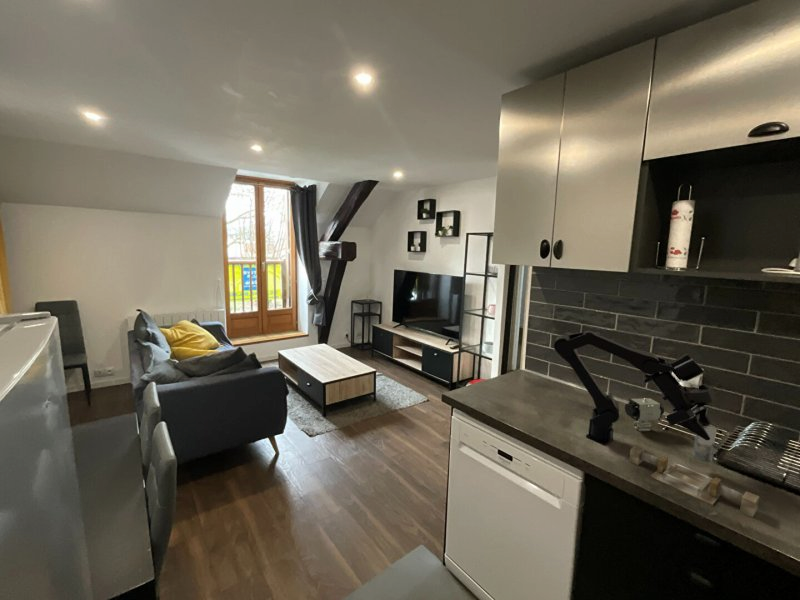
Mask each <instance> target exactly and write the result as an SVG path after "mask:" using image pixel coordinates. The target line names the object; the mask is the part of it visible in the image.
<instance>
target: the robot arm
mask: <svg viewBox="0 0 800 600" xmlns="http://www.w3.org/2000/svg"><path fill="white" fill-rule="evenodd" d="M587 345H590V346H593V347H595V348H598V349H600V350H602V351H605V352H606V353H609V354H611V355H613V356H615V357H618V358H621V359H623V360H624V361H625V362H627V363H629V364H630V365H632V366H633V367H634V368H636V369H637V370H639V371H641V372H642V373H644V377H645V378H644V383H645V384H647V383H649V382H652V383H653V384H654V385H655V386H656V388H657V389H658V390H659V391H660V393H661V394H662V395H663V396H662V399H663V401H666V400H667V401H668V403H670V405H671V406H672V408H673V409H672V412H670V413H669V414H667V415H666V418H665V419H666V421H667V423H668V424H669V425H670V426H671V427H672V426H674V425H677V426H681V427H683V428H685V429H686V430H688V431H690V432H691V433H693V434H695V435H696V434H697V435H698V436H700V437H702V438H703V439H705V440H710V437H709V435H708V434H707V432H706V431H705V429H704V428H703V426H702V425H701V423H707V424H710V425H712V422H711V420H710V418H709V416H708V412H709V409H710V407H709V406H708V405H711V404H712V403H713V402H714V401H717V398H716V396H715V392H716V391H715V390H714V389H713V388H712V387H710V386H709V385H708V384H705V383H704V384H700V385H698V389H697V388H696V389H692V390H691V389H690V388H688V387H687V386H686V385H685V386H682V385H681V383H680V382H679V381H681V380H682V381H683V382H684V381H685V382H688V381H690V380H692V379H695V378H697V377H698V376H701V375H702V374H705V373H706V371H705V370H704V369H703V368H702V367H701V366H700V365H699V364H698V363H697V361H696V360H694V359H693V358H692V357H691V356H690V355H689V354H688V353H685V354H683V355H681V356H680V357H678V358H677V359H674V360H673V361H670V360H669V359H665V358H661V357H658V355H656V354H655V353H653V352H650V351H647V350H643V349H637V348H632V347H629V346H627V345H624V344H623V343H622V344H621V343H619V342H618V341H615V340H612V339H610V338H608V337H605V336H603V335H600V334H598V333H596V332H594V330H591V329H589V330H585V331H581V332H577V333H573V334H569V335H567V334H560V335H558V336H557V337H556V339H555V341H554V344H553V347H554V351H555V352H556V353H557V354H558V355H559V356H560V357H561V358H562V359H563V360H565V362H567V363H568V364H569V365H570V368H571V369H572V370H573V372H574V373H575V374H576V376H577V378H578V379H579V380H580V382H581V384H582V385H583V386H584V387H585V389H586V391H587V392H588V394H589V395H590V397H591V399H592V400H593V403H594V406H595V407H594V408H593V409H592V410H591V411H592V413H591V414H592V415H591V418H590V419H589V425H588V433H587V434H585V438H588V439H589V440H592V441H595V442H597V443H598V444H601V445H603V446H605V445H607V444H609V443H610V442H612V441H613V440H614V431H615V430H614V428H613V425H614V424H613V423H615V422H617V421H618V420H619V418H620V413H619V412H620V407H619V402H618V401H617V400H616V399H615V398H614V396H613V394H612V393H609V394H607V393H606V392H605V391H604V390H602V387H601V386H600V385H599V383H598V381H597V380H596V379H595V377H594V376H593V374H592V373H591V372H590V370H589V368H588V367H587V366H586V364H585V362H584V361H583V359H582V358H581V357H580V355H579V352H578V349H580V348H582V347H585V346H587ZM672 373H673V374H672ZM674 375H675V376H674ZM676 378H677V379H678V380H679V381H678V380H677V379H676ZM705 406H706V407H705Z"/></svg>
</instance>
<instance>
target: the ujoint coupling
mask: <svg viewBox="0 0 800 600" xmlns="http://www.w3.org/2000/svg"><path fill="white" fill-rule="evenodd" d="M701 425H702V426H703V428H704V429H705V431H706V432H707V434H708V435H709V437H710V440H705V439H703V438H702V437H700V436H698V435H697V434H695V435H691V437H690V438H691V439H690V440H691V441H694V442H693V443H694V444H693V450H692V456H693V458H695V459H696V460H698V461H702V462H705V463H711V462H712V461H713V455H714V449H716V450H720V449H721V446H720V445H719V444H717V443H716V435H717V429H718V428H717V427H716V426H714V425H712V424H711V425H710V424H707V423H701Z"/></svg>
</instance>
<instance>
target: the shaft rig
mask: <svg viewBox="0 0 800 600" xmlns="http://www.w3.org/2000/svg"><path fill="white" fill-rule="evenodd" d="M629 450H630V451H629V459H628V460H629V463H631V464H634V465H637V466H639V465H640V464H641V463H642V462H646V463H648V464H651V465H653V466H656V467H657V470H655V472H653V473H652V474H651V475H650V478H653V479H655V480H657V481H659V482H661V483H663V484H665V485H667V486H669V487H672V488H674V489H676V490H678V491H681V492H683V493H685V494H687V495H689V496H691V497H693V498H695V499H698V500H700V501H702V502H704V503H706V504H708V505H710V506H714V504H715V503H716V502H717V500H718V499H719V498H720V497H721V496H724V497H725V498H727V499H730V500H733V501H735V502H737V503H739V504H740V508H739V512H740V513H742V514H745V515H746V516H749V517H751V518H754V516H755V515H756V513H757V510H758V506H759V501H760V496H759V495H757V494H754V493H752V492H749V491H745V493H742V492H740V491H738V490H736V489H732V488H730V487H728V486H726V485H723V484H721V483H722V479H721V478H718V477H716V476H715V477H714V478H713V477H710V476H708V475H706V474H702V473H701V472H699V471H696V470H694V469H691V468H688V467H687V466H685V465H684V466H683V465H682V464H679V463H677V462H674V463H673V464H671V465H668V463H669V457H667V456H666V455H663V456H662V457H660V458H659V457H657V456H655V455H653V454H649V453H647V452H645V451H646V450H645V448H644V447H641V446H639V445H634V446H633V447H632V448H631V449H629Z"/></svg>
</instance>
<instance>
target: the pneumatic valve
mask: <svg viewBox="0 0 800 600" xmlns="http://www.w3.org/2000/svg"><path fill="white" fill-rule="evenodd" d="M624 411H625V414H626V415H627V416H628V417H630V418H632V419H633V420H634V421H633V422H632V423H633V428H635V429H636V430H638V431H639V432H651V428H652V422H650V421H660V420H661V418H662V416H663V415H664V413H665V408H664V406H663V404H662V402H660V401H657V400H656V399H654V398H653V397H651V398H647V397H643V398H629V399H628V401H627V403H625V405H624Z"/></svg>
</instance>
